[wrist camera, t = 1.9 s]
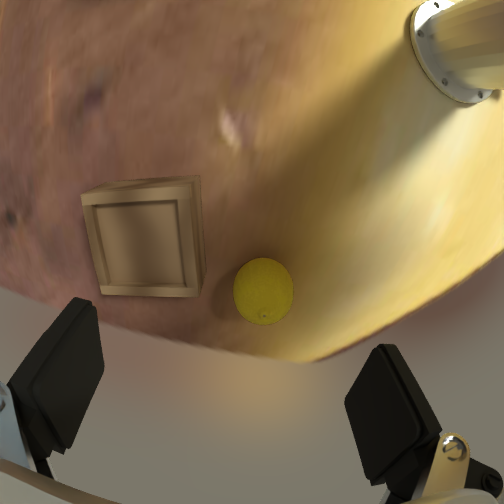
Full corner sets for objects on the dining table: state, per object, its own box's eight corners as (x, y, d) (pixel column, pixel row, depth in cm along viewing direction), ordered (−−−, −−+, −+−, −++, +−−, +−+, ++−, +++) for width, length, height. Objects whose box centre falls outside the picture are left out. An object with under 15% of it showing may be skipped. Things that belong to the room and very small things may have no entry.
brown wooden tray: (199, 175, 27) (188, 186, 22) (206, 271, 31) (198, 297, 26) (105, 182, 27) (80, 194, 22) (120, 270, 31) (101, 294, 26)
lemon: (238, 241, 29) (234, 282, 22) (293, 249, 30) (306, 291, 22) (232, 289, 32) (226, 337, 24) (282, 295, 32) (290, 344, 25)
